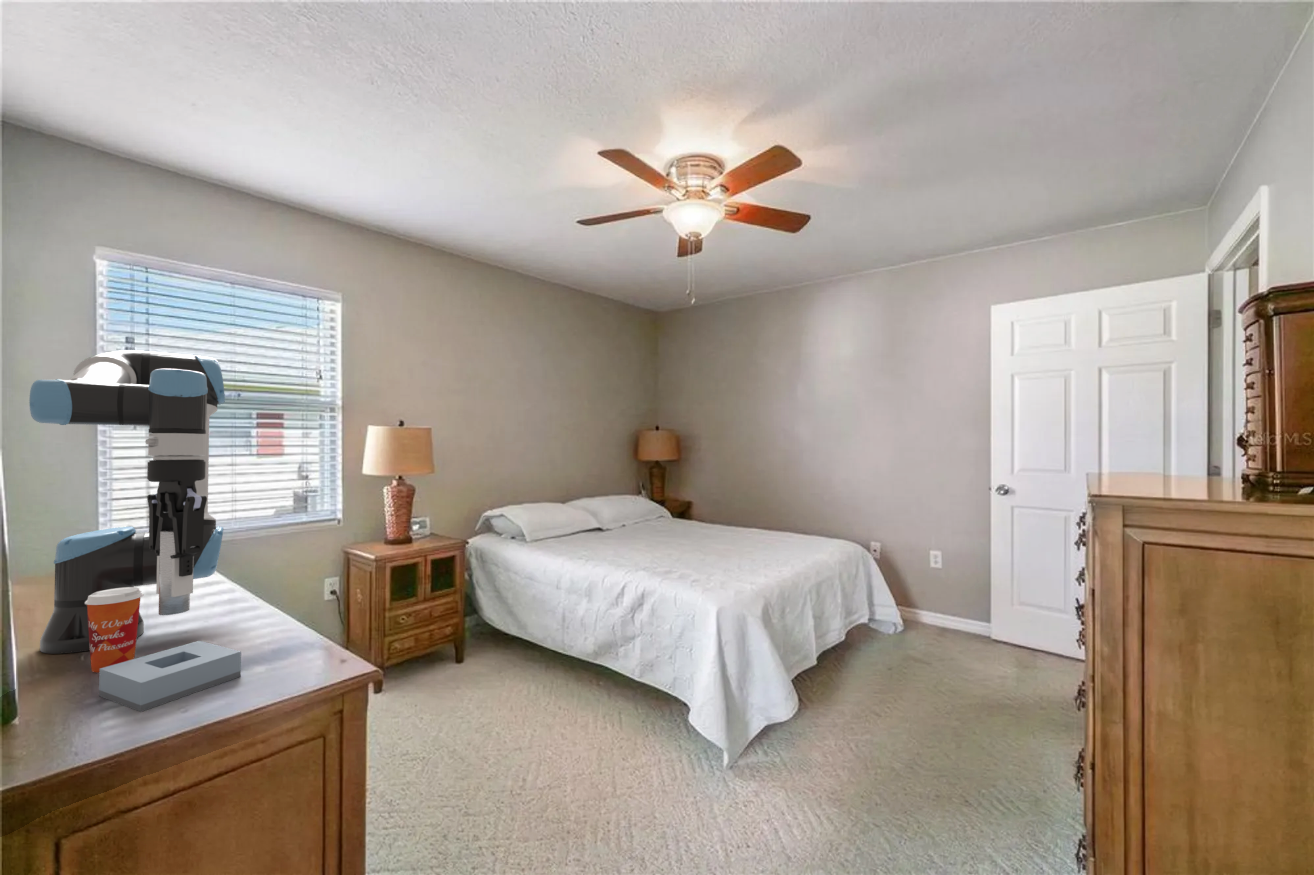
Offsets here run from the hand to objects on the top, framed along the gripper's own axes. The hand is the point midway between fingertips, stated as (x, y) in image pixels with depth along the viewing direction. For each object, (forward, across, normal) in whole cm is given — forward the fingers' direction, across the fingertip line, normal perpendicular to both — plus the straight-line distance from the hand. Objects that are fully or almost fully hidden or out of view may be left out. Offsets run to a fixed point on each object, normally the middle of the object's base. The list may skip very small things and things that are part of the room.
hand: (174, 593), depth 92 cm
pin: (+3, 0, 0) cm, 3 cm away
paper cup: (+16, -20, 0) cm, 26 cm away
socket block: (+16, 0, 0) cm, 16 cm away
